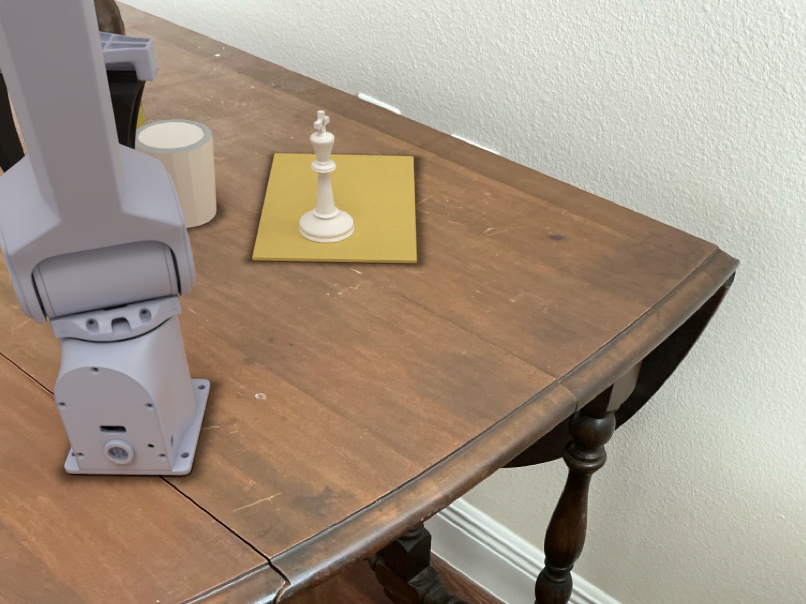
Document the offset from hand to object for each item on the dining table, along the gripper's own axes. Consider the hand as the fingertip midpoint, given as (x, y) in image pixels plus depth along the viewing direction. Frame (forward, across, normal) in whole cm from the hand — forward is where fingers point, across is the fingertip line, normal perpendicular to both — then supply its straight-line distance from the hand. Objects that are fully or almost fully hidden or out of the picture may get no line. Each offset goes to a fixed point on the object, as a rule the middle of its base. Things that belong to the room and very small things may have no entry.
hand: (74, 182), depth 60 cm
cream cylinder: (+10, -4, -14) cm, 17 cm away
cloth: (+9, -18, -16) cm, 26 cm away
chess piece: (+9, -17, -11) cm, 22 cm away
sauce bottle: (+10, +4, -24) cm, 26 cm away
